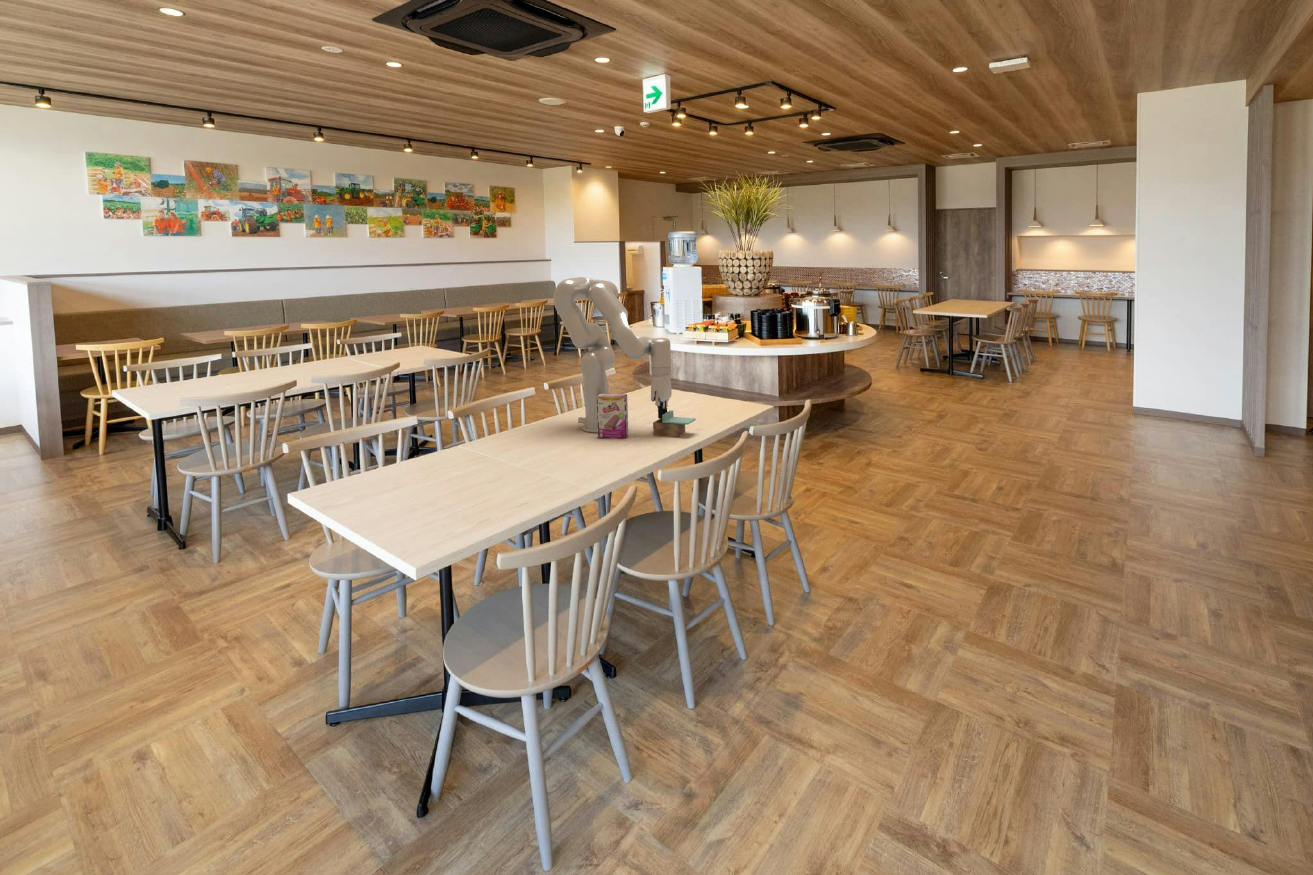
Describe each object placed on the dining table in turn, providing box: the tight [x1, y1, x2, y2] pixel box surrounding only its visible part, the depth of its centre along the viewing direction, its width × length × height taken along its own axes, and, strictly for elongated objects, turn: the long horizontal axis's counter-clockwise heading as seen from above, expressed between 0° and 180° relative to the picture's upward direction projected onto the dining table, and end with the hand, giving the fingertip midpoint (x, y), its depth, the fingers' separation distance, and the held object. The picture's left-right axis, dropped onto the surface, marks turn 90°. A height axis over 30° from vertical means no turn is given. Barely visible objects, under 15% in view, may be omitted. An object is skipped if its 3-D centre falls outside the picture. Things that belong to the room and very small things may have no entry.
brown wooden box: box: [652, 418, 686, 438], centre depth 282 cm, size 10×8×5 cm
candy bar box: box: [597, 393, 629, 439], centre depth 278 cm, size 11×5×16 cm, turn 84°
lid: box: [662, 410, 696, 426], centre depth 279 cm, size 10×8×3 cm
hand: (662, 418), depth 282 cm, fingers closed
